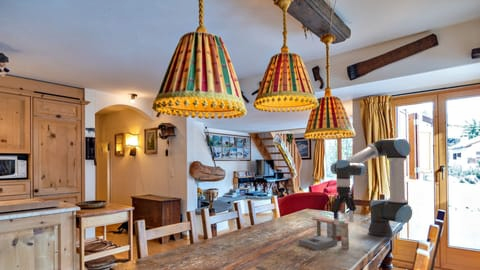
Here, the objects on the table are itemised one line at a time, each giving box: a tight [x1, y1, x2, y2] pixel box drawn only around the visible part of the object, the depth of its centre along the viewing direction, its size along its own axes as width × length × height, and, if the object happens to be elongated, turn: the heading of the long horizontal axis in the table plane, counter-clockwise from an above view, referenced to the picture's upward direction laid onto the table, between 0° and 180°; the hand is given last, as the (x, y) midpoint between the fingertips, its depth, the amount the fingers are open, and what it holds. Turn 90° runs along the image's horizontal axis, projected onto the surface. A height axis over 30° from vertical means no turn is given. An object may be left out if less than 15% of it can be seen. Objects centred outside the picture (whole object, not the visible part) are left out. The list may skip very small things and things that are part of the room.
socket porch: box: [298, 216, 338, 251], centre depth 183 cm, size 18×14×14 cm
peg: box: [340, 222, 350, 250], centre depth 176 cm, size 4×4×14 cm
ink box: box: [326, 218, 346, 241], centre depth 198 cm, size 9×9×12 cm
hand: (344, 223), depth 177 cm, fingers open, 13 cm apart
